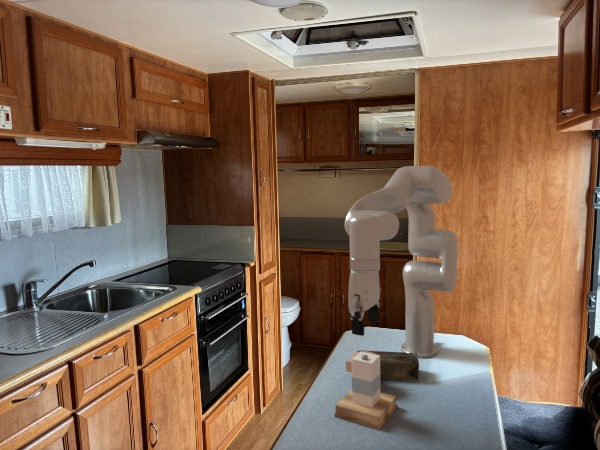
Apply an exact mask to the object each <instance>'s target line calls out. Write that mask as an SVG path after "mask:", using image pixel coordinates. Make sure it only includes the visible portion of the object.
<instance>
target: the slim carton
mask: <svg viewBox="0 0 600 450" xmlns="http://www.w3.org/2000/svg"><path fill="white" fill-rule="evenodd" d="M351 361H352V372H351V388H352V389H351V390H352V392H353V403H356V404H360V405H364V406H367V407H371V408H372V407H373V406H374V405H375V404H376V403H377V402H378V400H379V399H380V392H381V386H382V385H381V383H382V382H381V381H382V379H380V355H375V354H370V353H365V352H360V353H359V354H358V355H356V356H355V357H354V358H353V359H352V358H351Z"/></svg>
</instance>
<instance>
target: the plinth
mask: <svg viewBox="0 0 600 450" xmlns="http://www.w3.org/2000/svg"><path fill="white" fill-rule="evenodd" d="M397 408H398V403H397V396H396V395H393V394H388V393H384V392H381V391H380V399H379V400H378V402H377V403H376V404H375V405H374V406H373V407H372V408H371V407H367V406H364V405H360V404H356V403H353V392H352V389H350V391H348V392H347V393H346V394H345V395H344V396H343V397H342V398H341V399H340V401H338V402H337V403H336V404H335V412H334V413H333V417H335V418H339V419H342V420H346V421H349V422H353V423H355V424H359V425H362V426H366V427H369V428H372V429H376V430H380V429H381V428H382V427H383V426H384V424H385V423H386V422H387V421H388V419H389V418H390V417H391V415H392V414H393V413H394V412H395V410H396V409H397Z"/></svg>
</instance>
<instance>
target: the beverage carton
mask: <svg viewBox="0 0 600 450" xmlns="http://www.w3.org/2000/svg"><path fill="white" fill-rule="evenodd" d="M360 351H364V350H363V349H362V350H361V349H360V350H356V352H360ZM367 351H368V352H373V353H376V354H377V355H380V380H391V379H394V381H397V380H399V381H420V362H419V357H418V355H417V353H404V352H402V351H399V352H398V351H383V350H381V351H380V350H379V351H378V350H367Z"/></svg>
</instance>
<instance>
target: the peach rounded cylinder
mask: <svg viewBox="0 0 600 450" xmlns="http://www.w3.org/2000/svg"><path fill="white" fill-rule="evenodd" d="M359 351H360V352H365V353H370V354H375V355H377V354H376V353H373V352H368V351H369V350H363V351H361V350H359ZM360 352H357V351H356V352H354V353H353V354H352V355H351V359H346V360H345V371H346V372H348V373H352V359H353V358H354V357H355V356H356V355H358V354H359V353H360Z"/></svg>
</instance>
